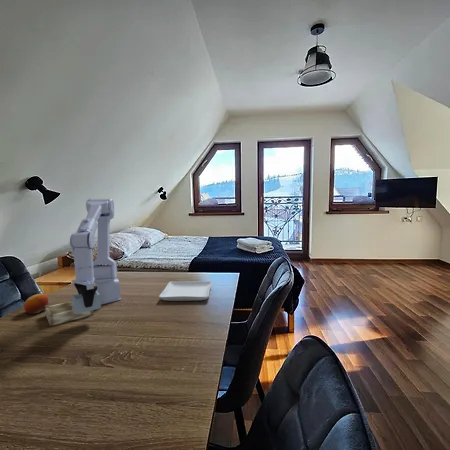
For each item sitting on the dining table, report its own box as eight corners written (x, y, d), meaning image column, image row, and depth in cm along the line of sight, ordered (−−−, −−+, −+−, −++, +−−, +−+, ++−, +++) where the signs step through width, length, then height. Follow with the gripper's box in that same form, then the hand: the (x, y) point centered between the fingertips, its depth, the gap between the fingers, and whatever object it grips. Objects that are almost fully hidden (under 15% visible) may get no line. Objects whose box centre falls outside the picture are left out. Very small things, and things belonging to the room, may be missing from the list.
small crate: (96, 303, 101) (95, 290, 101) (100, 308, 97) (100, 294, 96) (72, 309, 96) (71, 295, 95) (75, 314, 92) (74, 299, 91)
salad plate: (208, 303, 114) (208, 295, 114) (158, 304, 115) (158, 296, 115) (212, 287, 136) (212, 280, 135) (169, 287, 136) (169, 281, 136)
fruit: (40, 313, 103) (30, 294, 103) (26, 322, 105) (16, 304, 105) (57, 304, 111) (48, 287, 111) (44, 313, 112) (34, 296, 113)
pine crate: (86, 306, 112) (85, 296, 112) (93, 314, 104) (92, 304, 104) (45, 315, 104) (45, 305, 103) (50, 325, 95) (49, 314, 95)
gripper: (67, 264, 98) (69, 301, 99) (75, 272, 87) (78, 313, 88) (88, 261, 102) (90, 296, 104) (99, 268, 91) (101, 308, 93)
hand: (86, 304), depth 96 cm, fingers closed on small crate, 5 cm apart
